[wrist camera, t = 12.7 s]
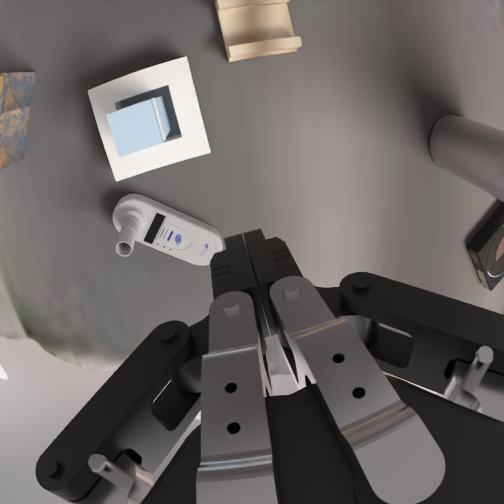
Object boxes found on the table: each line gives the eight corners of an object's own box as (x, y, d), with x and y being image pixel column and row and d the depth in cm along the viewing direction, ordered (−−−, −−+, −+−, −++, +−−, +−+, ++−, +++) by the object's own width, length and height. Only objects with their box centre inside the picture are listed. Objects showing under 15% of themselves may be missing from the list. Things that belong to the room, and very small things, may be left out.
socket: (187, 59, 30) (186, 56, 27) (209, 145, 36) (210, 152, 32) (98, 89, 30) (87, 90, 26) (123, 172, 35) (116, 181, 32)
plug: (163, 95, 31) (150, 98, 22) (171, 128, 33) (163, 143, 25) (128, 106, 31) (105, 114, 22) (138, 138, 33) (119, 158, 24)
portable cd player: (464, 245, 53) (476, 255, 49) (509, 190, 48) (522, 197, 45) (479, 283, 60) (489, 292, 57) (519, 234, 55) (530, 242, 52)
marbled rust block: (19, 71, 26) (-23, 74, 17) (37, 72, 27) (-3, 73, 18) (8, 154, 31) (-31, 176, 22) (25, 156, 32) (-13, 179, 23)
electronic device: (216, 306, 36) (93, 259, 30) (208, 261, 45) (110, 220, 38) (239, 271, 34) (108, 217, 28) (227, 231, 43) (124, 185, 36)
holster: (281, -6, 27) (288, -13, 25) (294, 51, 31) (302, 49, 29) (214, 3, 27) (216, -4, 24) (228, 62, 31) (231, 60, 29)
